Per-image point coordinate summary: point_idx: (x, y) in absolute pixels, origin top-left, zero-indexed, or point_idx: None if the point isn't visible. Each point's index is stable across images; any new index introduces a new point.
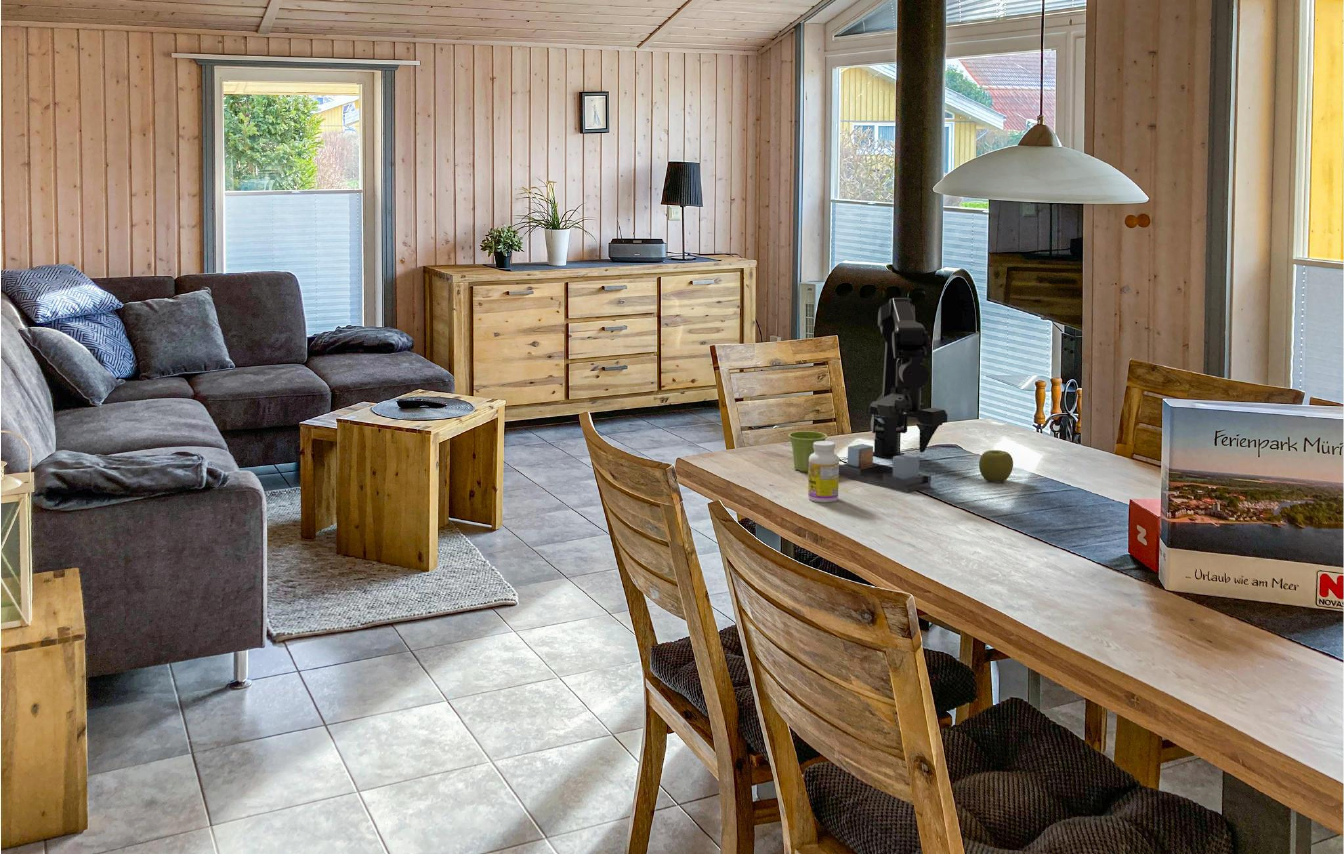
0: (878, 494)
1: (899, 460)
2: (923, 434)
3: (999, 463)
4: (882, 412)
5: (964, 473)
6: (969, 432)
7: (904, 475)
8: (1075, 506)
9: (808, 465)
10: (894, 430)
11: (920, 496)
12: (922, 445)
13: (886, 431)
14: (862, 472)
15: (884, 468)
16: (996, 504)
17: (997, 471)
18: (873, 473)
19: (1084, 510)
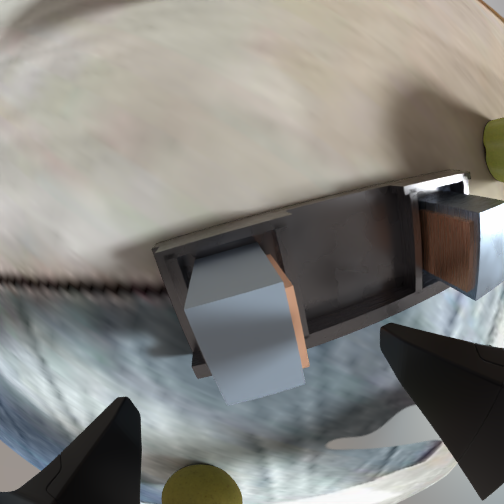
0: (180, 125)
1: (228, 290)
2: (35, 477)
3: (164, 501)
4: None
5: (290, 457)
6: (436, 470)
7: (192, 273)
8: (22, 439)
9: (494, 129)
10: (437, 417)
11: (98, 256)
12: (88, 426)
13: (464, 356)
14: (402, 204)
15: (391, 297)
16: (16, 369)
17: (166, 485)
18: (393, 251)
19: (5, 430)
